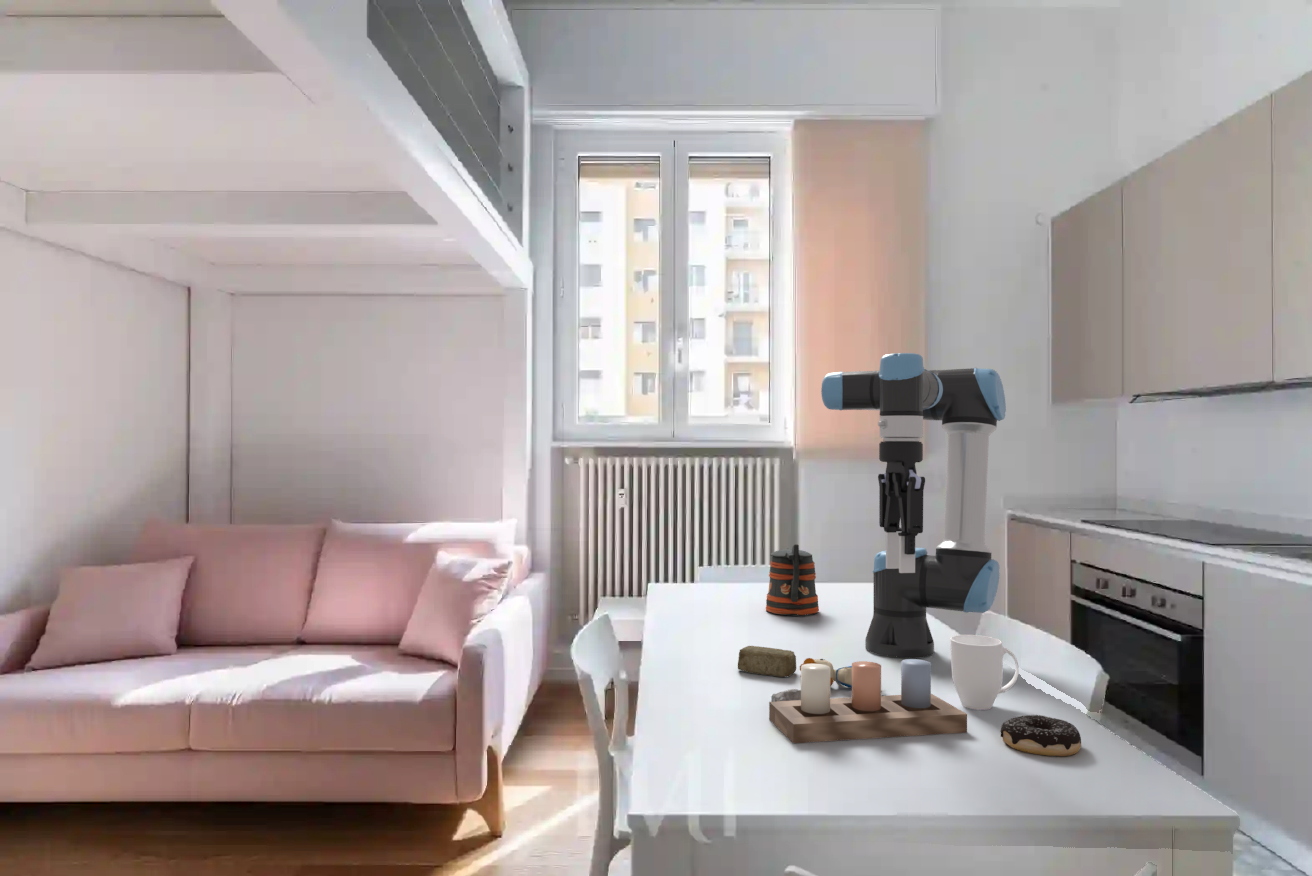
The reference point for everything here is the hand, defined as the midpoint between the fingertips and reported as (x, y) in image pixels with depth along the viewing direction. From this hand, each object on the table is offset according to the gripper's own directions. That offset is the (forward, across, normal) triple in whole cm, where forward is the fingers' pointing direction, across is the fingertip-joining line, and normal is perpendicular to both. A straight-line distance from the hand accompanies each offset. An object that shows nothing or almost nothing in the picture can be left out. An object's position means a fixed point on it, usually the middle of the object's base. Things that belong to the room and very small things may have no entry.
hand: (900, 570), depth 157 cm
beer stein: (+25, -85, +11) cm, 89 cm away
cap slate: (+21, +8, -1) cm, 23 cm away
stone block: (+25, -27, -16) cm, 40 cm away
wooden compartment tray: (+25, +8, -10) cm, 28 cm away
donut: (+25, +22, +13) cm, 36 cm away
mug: (+25, +1, +16) cm, 30 cm away
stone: (+25, -4, -19) cm, 32 cm away
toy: (+25, -14, -6) cm, 29 cm away
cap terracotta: (+21, +8, -10) cm, 25 cm away
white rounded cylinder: (+21, +8, -19) cm, 30 cm away
